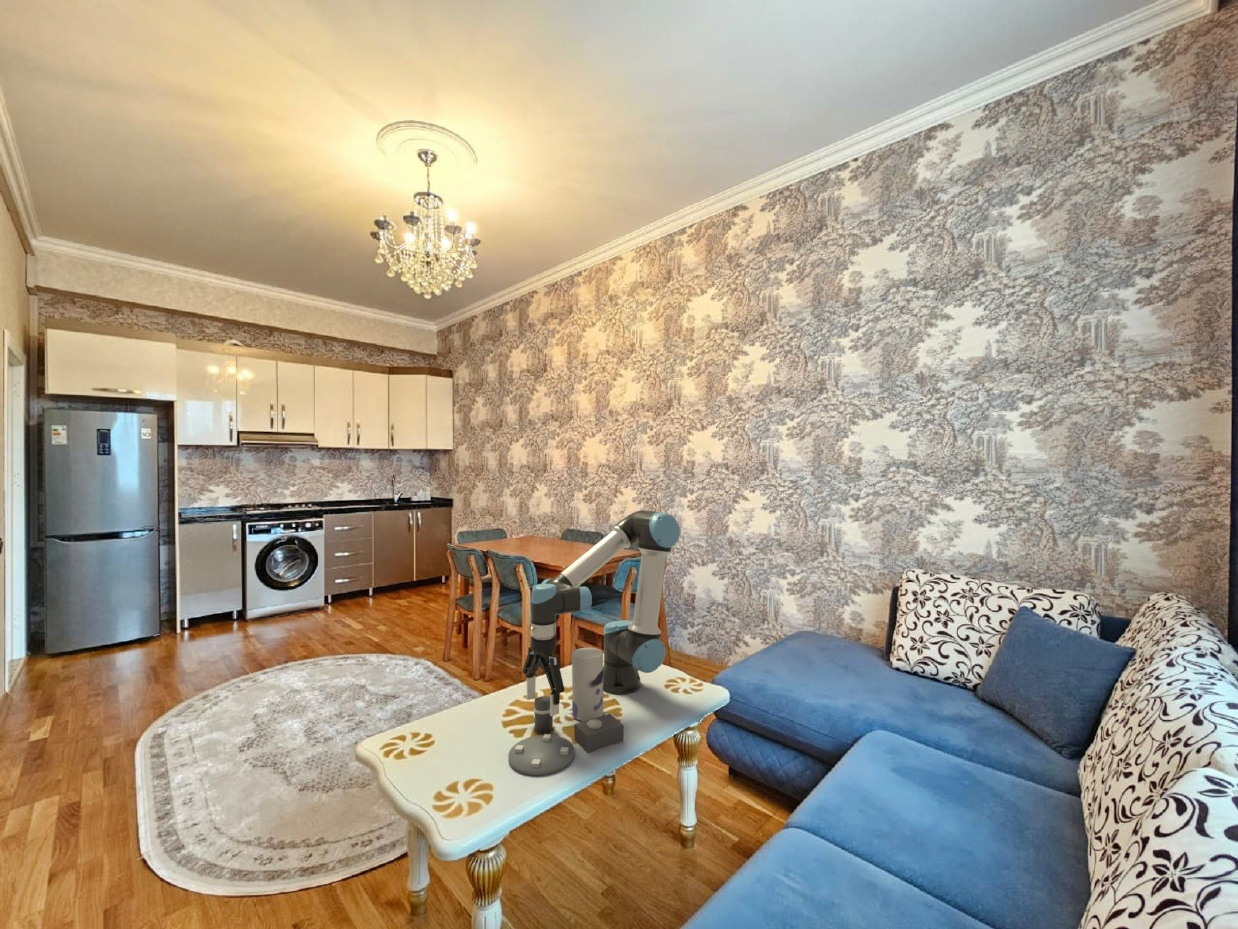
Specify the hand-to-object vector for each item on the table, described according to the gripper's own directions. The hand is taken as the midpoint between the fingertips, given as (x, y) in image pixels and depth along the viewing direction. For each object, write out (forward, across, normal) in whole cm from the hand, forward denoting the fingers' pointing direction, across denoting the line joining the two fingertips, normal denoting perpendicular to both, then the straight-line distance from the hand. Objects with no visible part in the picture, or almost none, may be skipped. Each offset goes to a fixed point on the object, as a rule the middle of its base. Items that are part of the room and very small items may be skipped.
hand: (542, 706), depth 155 cm
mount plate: (+7, +12, -7) cm, 16 cm away
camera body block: (+7, +16, +10) cm, 20 cm away
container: (+7, +1, +17) cm, 18 cm away
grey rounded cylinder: (+7, 0, +1) cm, 7 cm away
